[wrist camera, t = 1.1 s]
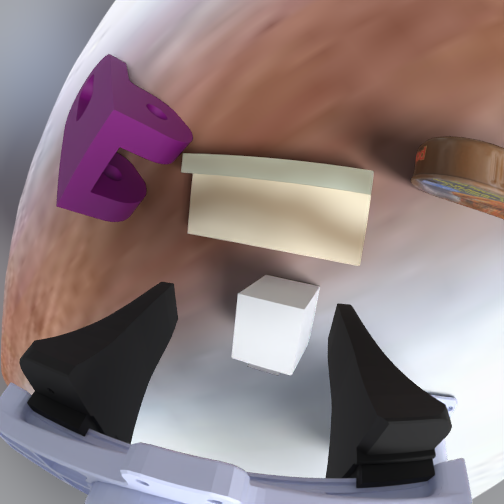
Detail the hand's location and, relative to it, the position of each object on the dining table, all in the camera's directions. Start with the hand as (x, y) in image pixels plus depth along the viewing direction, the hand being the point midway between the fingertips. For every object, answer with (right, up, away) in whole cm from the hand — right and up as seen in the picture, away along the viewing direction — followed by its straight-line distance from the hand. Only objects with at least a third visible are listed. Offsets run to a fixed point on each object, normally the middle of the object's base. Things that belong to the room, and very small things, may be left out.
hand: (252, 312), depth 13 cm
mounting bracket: (-13, +16, +16) cm, 26 cm away
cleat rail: (+2, +6, +11) cm, 12 cm away
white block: (+3, -2, +12) cm, 12 cm away
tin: (+18, +7, +4) cm, 20 cm away
